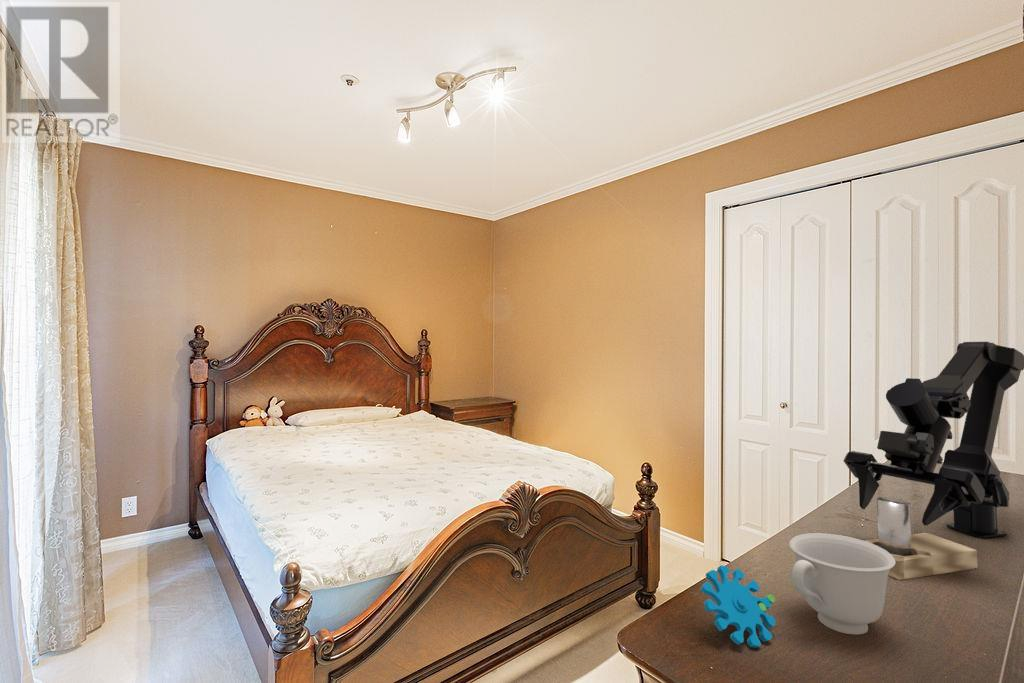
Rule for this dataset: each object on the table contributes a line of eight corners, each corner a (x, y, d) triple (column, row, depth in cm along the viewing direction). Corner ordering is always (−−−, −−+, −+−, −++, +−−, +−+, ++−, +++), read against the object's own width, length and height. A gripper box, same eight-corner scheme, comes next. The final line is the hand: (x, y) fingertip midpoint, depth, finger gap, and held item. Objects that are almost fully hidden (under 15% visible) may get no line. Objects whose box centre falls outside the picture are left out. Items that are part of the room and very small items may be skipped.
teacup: (757, 616, 68) (755, 545, 68) (827, 592, 74) (825, 527, 74) (845, 667, 57) (842, 582, 57) (919, 634, 63) (916, 557, 63)
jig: (927, 548, 88) (926, 532, 88) (977, 568, 80) (976, 550, 80) (854, 558, 85) (853, 541, 85) (898, 579, 77) (897, 561, 77)
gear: (726, 646, 59) (695, 563, 66) (701, 660, 63) (674, 580, 70) (799, 642, 62) (761, 563, 69) (771, 656, 66) (738, 579, 73)
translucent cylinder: (885, 558, 85) (882, 495, 85) (916, 567, 81) (913, 501, 82) (875, 565, 83) (872, 500, 83) (907, 574, 79) (904, 507, 79)
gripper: (847, 408, 93) (814, 474, 88) (973, 420, 76) (941, 502, 71) (871, 444, 96) (841, 510, 91) (997, 463, 80) (969, 545, 75)
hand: (891, 515), depth 82 cm, fingers open, 9 cm apart
